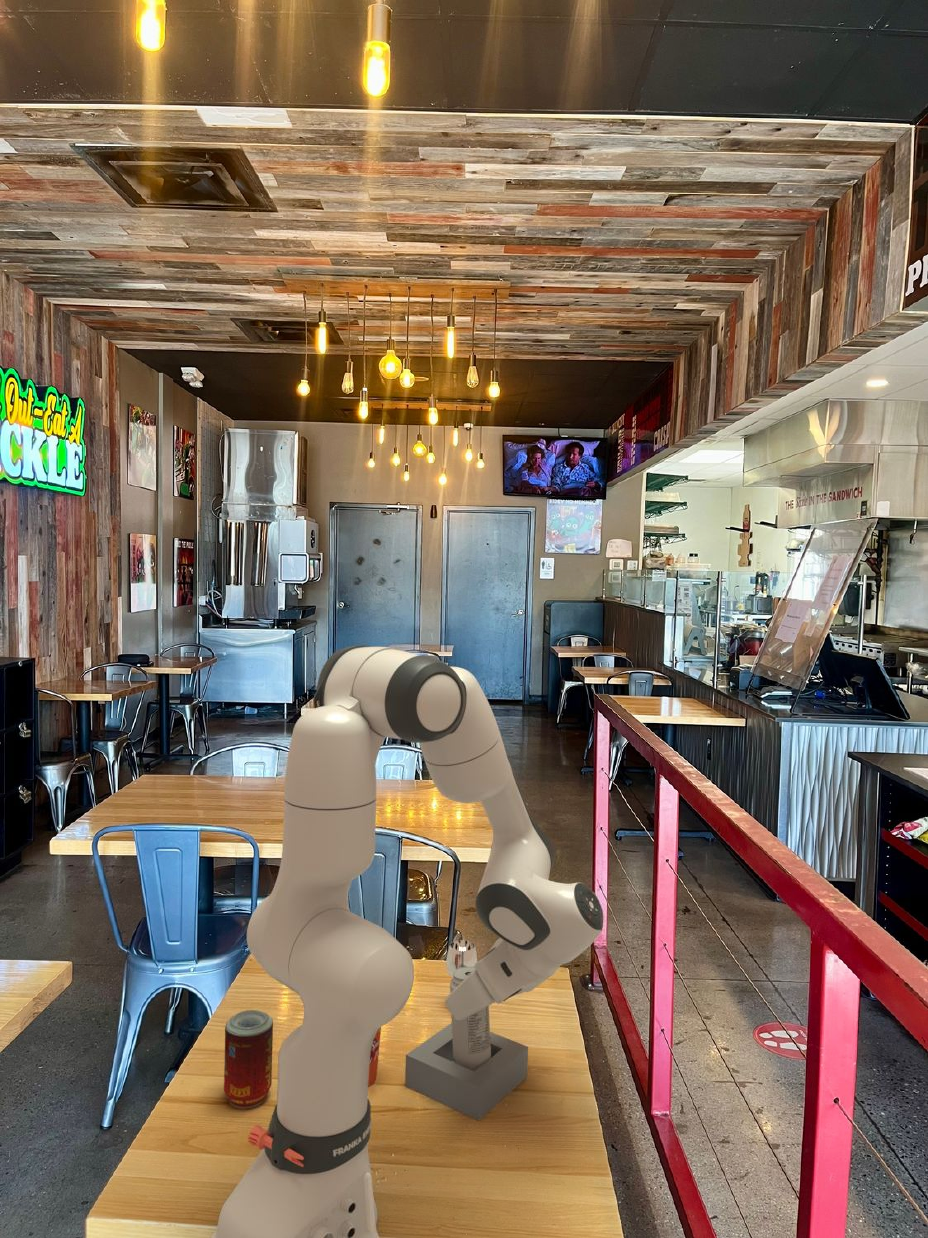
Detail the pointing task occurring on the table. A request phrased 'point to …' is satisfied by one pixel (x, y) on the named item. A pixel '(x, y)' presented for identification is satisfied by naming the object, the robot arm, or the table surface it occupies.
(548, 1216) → the table surface
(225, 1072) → the soda can
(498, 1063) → the socket block
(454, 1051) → the energy drink can
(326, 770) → the robot arm
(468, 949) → the wineglass
